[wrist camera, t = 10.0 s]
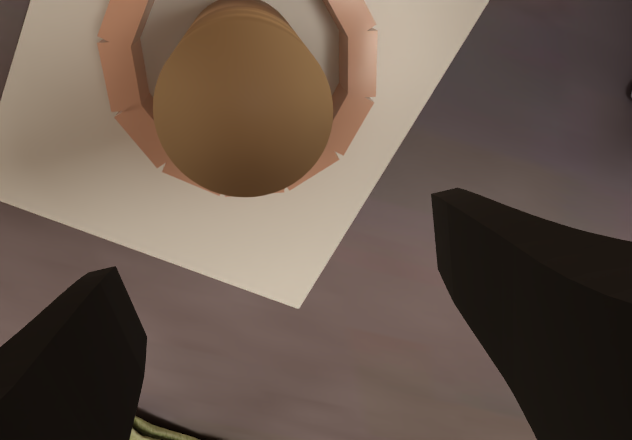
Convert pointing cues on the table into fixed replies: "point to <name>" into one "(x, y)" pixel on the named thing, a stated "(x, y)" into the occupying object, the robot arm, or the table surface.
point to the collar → (137, 103)
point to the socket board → (186, 199)
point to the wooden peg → (242, 101)
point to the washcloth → (154, 432)
